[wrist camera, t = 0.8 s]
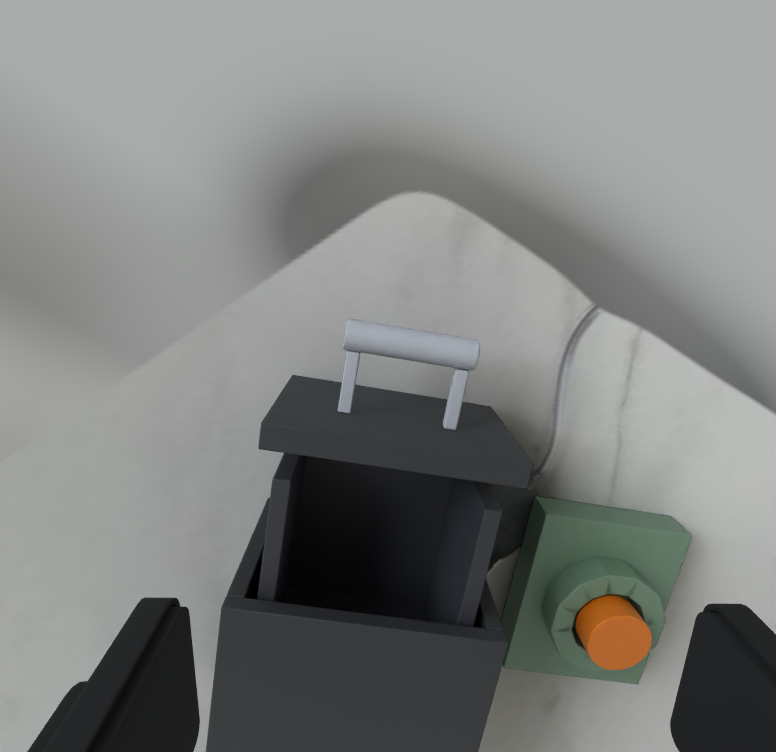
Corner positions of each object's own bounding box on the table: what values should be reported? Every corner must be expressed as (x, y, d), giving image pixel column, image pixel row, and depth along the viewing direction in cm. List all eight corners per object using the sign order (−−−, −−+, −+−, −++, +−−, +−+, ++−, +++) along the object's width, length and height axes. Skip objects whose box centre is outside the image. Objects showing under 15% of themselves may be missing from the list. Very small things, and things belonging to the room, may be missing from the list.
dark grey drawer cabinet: (268, 497, 30) (220, 607, 21) (468, 525, 31) (508, 643, 22) (243, 688, 34) (194, 856, 24) (424, 709, 35) (443, 879, 25)
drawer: (302, 297, 26) (273, 316, 19) (508, 332, 27) (560, 365, 20) (265, 582, 31) (229, 691, 23) (444, 605, 31) (466, 718, 24)
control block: (534, 495, 31) (557, 530, 27) (671, 515, 31) (713, 553, 27) (495, 641, 33) (510, 693, 29) (621, 657, 34) (653, 710, 30)
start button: (584, 590, 28) (597, 612, 27) (643, 598, 28) (661, 620, 27) (567, 642, 29) (580, 666, 27) (626, 650, 29) (641, 674, 28)
